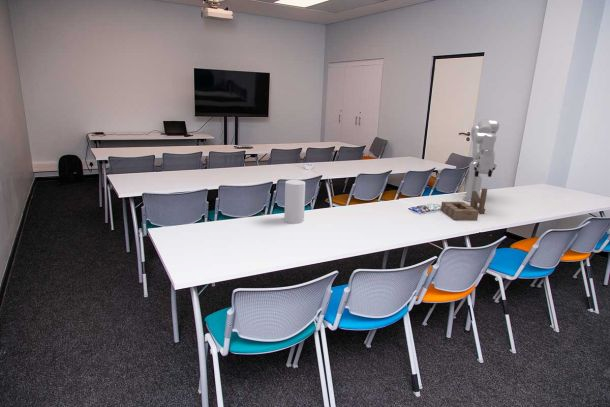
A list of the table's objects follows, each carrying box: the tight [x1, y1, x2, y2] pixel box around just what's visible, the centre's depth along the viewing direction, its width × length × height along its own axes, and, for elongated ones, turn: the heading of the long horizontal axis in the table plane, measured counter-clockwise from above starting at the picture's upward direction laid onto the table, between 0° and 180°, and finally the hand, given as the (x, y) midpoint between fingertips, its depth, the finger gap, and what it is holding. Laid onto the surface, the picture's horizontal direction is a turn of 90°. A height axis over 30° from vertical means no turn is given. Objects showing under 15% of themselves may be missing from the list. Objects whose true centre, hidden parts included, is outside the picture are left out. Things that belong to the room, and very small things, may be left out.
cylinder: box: [283, 179, 306, 225], centre depth 251 cm, size 12×12×25 cm
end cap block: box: [440, 201, 480, 221], centre depth 278 cm, size 22×16×6 cm
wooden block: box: [469, 188, 488, 215], centre depth 286 cm, size 4×11×18 cm, turn 25°
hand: (482, 176), depth 281 cm, fingers open, 9 cm apart
